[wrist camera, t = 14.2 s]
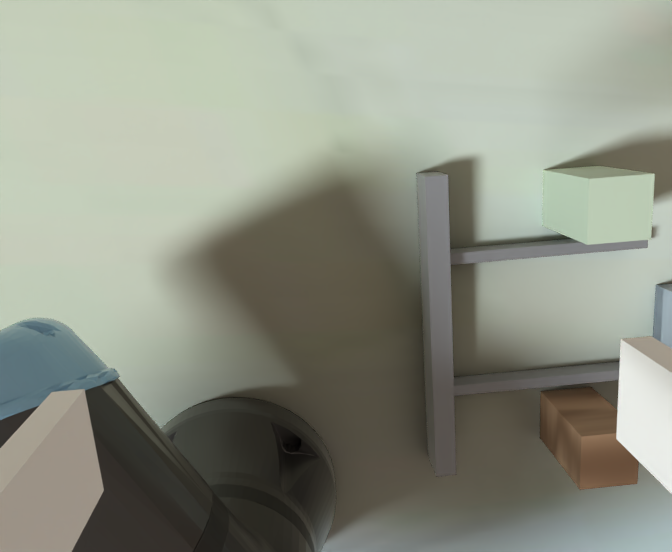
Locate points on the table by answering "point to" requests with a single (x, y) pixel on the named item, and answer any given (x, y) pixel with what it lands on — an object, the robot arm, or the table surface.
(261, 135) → the table surface
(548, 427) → the walnut block
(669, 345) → the slate tray
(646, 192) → the sage block
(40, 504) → the robot arm
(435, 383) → the grey bar frame
